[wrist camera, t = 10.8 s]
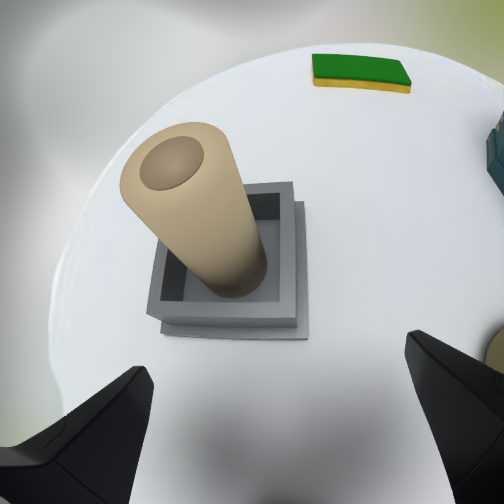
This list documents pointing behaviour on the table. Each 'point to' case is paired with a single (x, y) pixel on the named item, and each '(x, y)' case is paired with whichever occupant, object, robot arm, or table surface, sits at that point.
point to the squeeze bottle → (496, 352)
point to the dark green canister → (496, 154)
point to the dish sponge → (360, 72)
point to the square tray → (254, 304)
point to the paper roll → (197, 206)
